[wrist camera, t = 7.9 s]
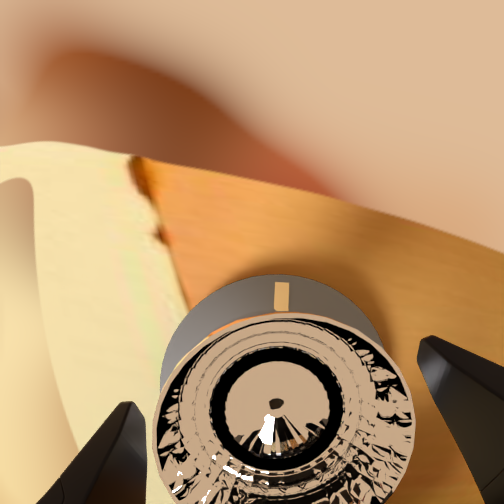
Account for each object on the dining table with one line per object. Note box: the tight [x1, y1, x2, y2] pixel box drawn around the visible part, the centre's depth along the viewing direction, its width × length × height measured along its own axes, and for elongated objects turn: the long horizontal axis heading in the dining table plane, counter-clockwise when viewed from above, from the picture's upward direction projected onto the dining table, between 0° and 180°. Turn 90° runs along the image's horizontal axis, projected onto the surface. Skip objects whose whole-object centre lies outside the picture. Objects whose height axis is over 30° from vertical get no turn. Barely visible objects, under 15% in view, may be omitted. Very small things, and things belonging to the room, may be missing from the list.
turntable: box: [160, 274, 385, 394], centre depth 16 cm, size 13×13×1 cm
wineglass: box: [152, 308, 416, 504], centre depth 10 cm, size 6×6×12 cm
